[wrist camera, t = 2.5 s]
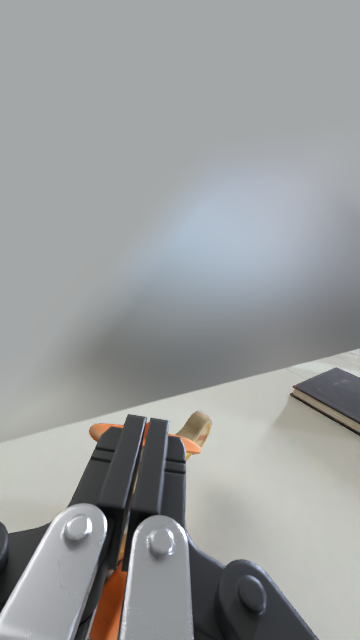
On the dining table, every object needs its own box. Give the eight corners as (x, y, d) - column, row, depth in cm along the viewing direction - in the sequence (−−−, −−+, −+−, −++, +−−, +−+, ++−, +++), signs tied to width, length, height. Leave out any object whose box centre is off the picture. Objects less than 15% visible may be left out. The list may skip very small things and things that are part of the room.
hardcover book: (290, 395, 56) (293, 385, 55) (333, 374, 70) (335, 367, 70) (376, 445, 44) (381, 434, 44) (406, 408, 59) (410, 399, 58)
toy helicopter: (16, 590, 20) (13, 445, 16) (170, 442, 37) (187, 355, 33) (86, 696, 16) (105, 538, 12) (222, 475, 33) (248, 381, 29)
